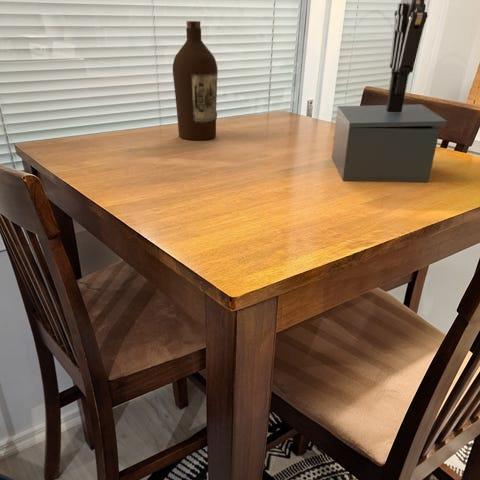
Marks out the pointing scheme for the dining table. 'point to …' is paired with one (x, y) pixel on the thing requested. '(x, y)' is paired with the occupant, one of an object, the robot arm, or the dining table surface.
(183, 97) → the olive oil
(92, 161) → the dining table surface
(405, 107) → the lid
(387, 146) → the chest
